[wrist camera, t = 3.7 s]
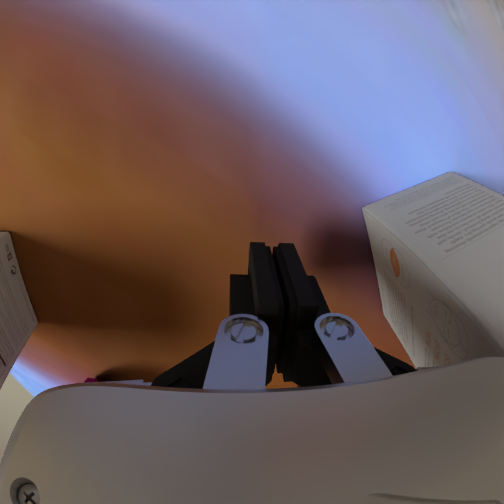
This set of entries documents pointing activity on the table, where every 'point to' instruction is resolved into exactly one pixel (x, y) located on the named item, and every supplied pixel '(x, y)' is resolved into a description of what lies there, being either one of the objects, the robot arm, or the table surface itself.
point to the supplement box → (12, 308)
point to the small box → (441, 268)
